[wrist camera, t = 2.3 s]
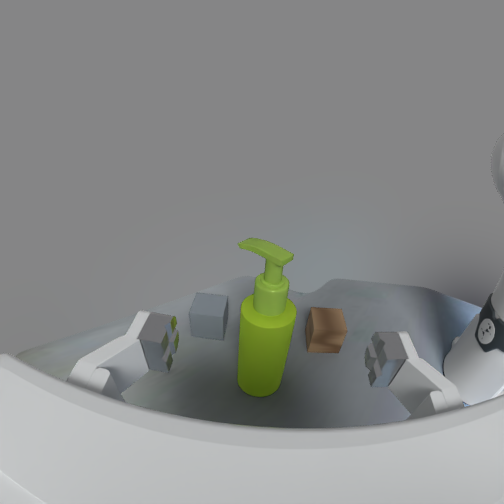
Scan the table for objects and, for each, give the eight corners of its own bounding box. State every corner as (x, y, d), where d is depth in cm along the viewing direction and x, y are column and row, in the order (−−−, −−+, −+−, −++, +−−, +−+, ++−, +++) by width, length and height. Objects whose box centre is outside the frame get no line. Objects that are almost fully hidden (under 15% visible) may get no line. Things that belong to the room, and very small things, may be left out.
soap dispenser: (251, 353, 39) (262, 228, 30) (288, 378, 36) (319, 251, 26) (222, 375, 35) (222, 245, 26) (261, 404, 32) (283, 275, 22)
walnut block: (334, 331, 44) (341, 309, 42) (338, 353, 40) (347, 330, 38) (305, 330, 44) (311, 307, 42) (307, 352, 40) (314, 329, 38)
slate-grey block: (227, 319, 46) (227, 295, 43) (223, 340, 41) (222, 317, 39) (198, 315, 46) (196, 292, 44) (191, 336, 42) (189, 312, 39)
